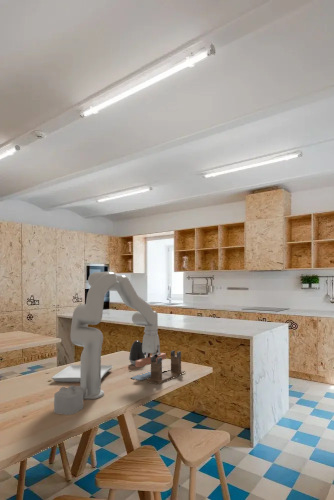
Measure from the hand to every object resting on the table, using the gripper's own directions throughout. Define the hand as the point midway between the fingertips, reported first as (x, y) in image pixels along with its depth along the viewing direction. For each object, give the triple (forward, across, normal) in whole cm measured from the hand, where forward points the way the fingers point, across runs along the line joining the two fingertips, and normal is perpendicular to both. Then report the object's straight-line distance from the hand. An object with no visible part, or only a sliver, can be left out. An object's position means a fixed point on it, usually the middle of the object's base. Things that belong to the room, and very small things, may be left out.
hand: (151, 364), depth 195 cm
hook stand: (+5, +11, 0) cm, 12 cm away
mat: (+5, 0, 0) cm, 5 cm away
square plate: (+6, -28, -26) cm, 39 cm away
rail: (-1, 0, 0) cm, 1 cm away
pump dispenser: (+6, -21, +11) cm, 24 cm away
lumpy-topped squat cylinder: (+6, +4, -60) cm, 60 cm away
